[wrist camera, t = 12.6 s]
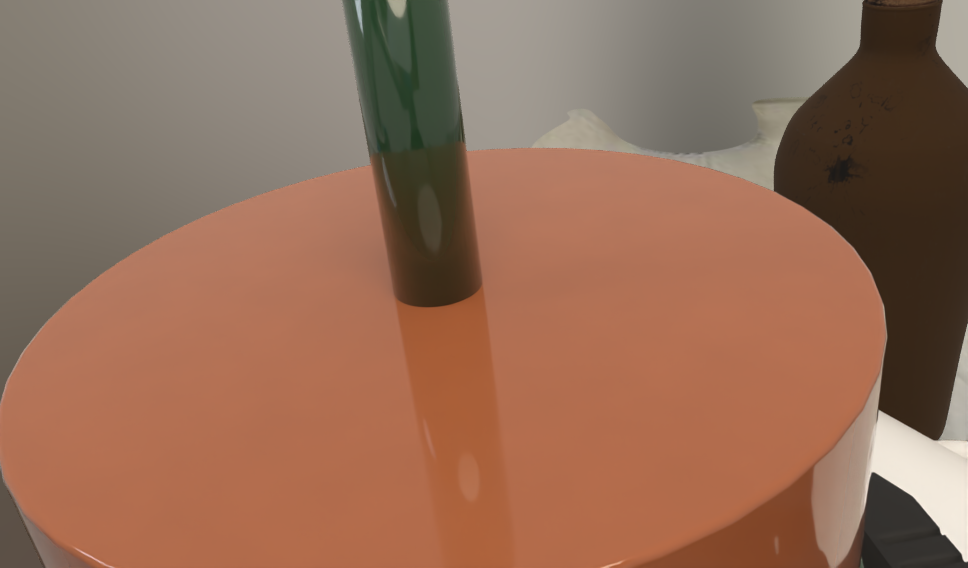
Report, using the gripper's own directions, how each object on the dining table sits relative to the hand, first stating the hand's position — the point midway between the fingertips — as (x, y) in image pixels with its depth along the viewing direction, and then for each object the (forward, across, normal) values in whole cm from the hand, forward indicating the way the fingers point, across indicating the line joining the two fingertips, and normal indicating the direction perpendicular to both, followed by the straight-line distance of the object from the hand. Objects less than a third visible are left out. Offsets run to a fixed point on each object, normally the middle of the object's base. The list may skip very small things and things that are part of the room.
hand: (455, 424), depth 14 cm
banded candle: (-5, 0, -6) cm, 8 cm away
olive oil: (+29, +24, -25) cm, 45 cm away
